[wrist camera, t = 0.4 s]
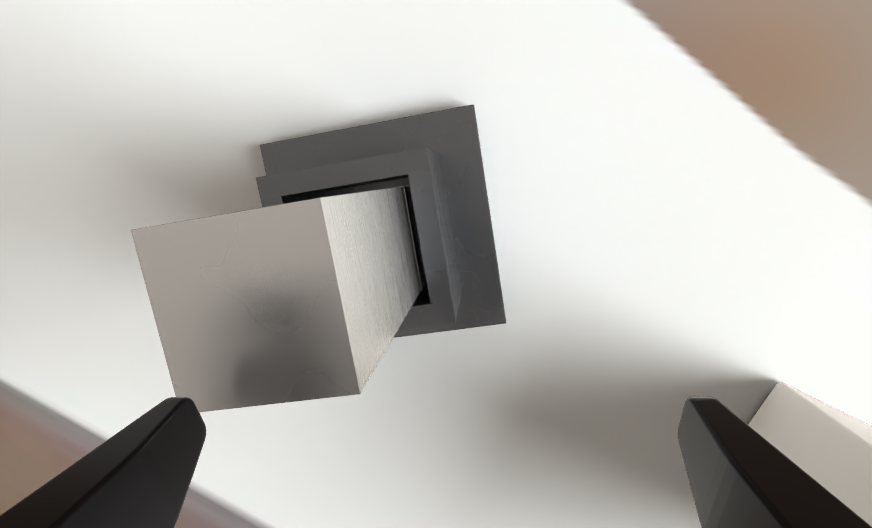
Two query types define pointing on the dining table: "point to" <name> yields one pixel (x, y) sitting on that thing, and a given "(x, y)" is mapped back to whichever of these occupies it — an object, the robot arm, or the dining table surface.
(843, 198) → the dining table surface
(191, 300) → the post
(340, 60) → the dining table surface
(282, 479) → the dining table surface
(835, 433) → the milk carton
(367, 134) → the stand
